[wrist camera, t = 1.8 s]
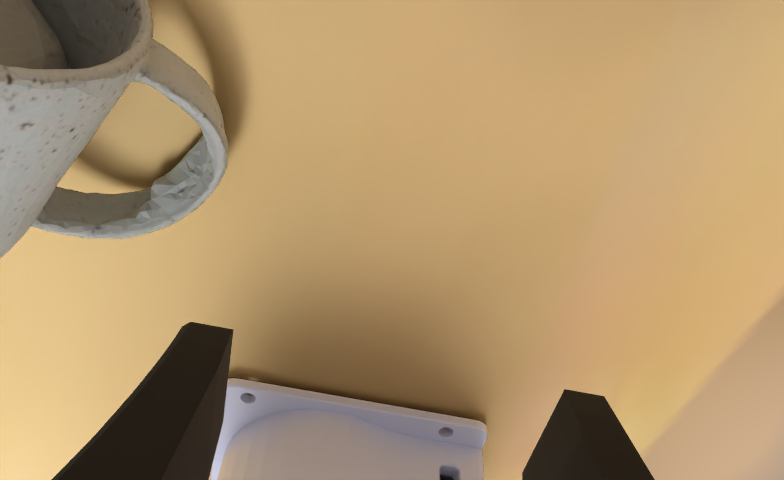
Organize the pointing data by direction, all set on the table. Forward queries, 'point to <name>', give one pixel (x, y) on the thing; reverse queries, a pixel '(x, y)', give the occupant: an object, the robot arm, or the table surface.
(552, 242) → the table surface
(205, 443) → the robot arm
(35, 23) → the ceramic mug
